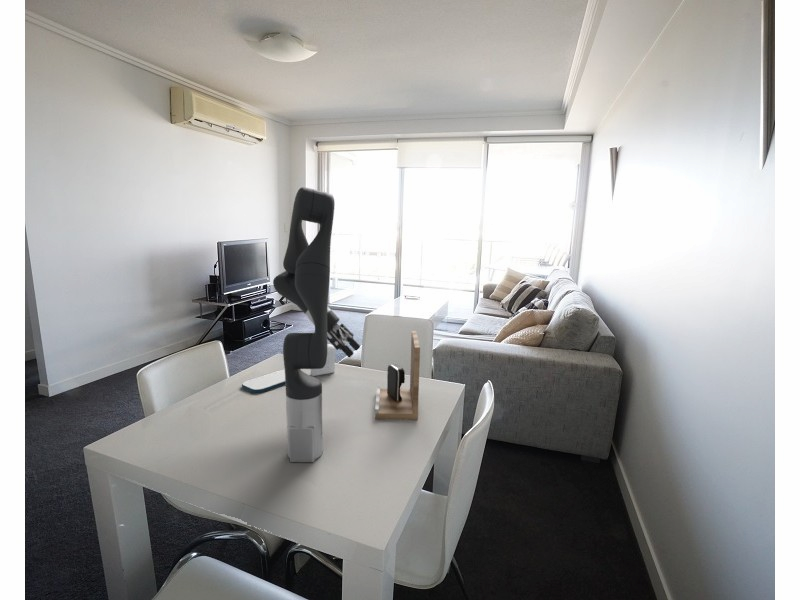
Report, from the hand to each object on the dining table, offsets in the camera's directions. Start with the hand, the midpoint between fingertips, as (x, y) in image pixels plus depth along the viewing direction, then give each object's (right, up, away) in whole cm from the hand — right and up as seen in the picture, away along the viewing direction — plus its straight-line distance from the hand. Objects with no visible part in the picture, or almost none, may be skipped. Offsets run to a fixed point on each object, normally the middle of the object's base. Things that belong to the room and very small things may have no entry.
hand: (355, 352), depth 138 cm
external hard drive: (-33, -15, +21) cm, 42 cm away
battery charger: (+14, -17, +4) cm, 22 cm away
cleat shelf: (+13, -19, +2) cm, 23 cm away
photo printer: (-17, -13, +31) cm, 38 cm away
